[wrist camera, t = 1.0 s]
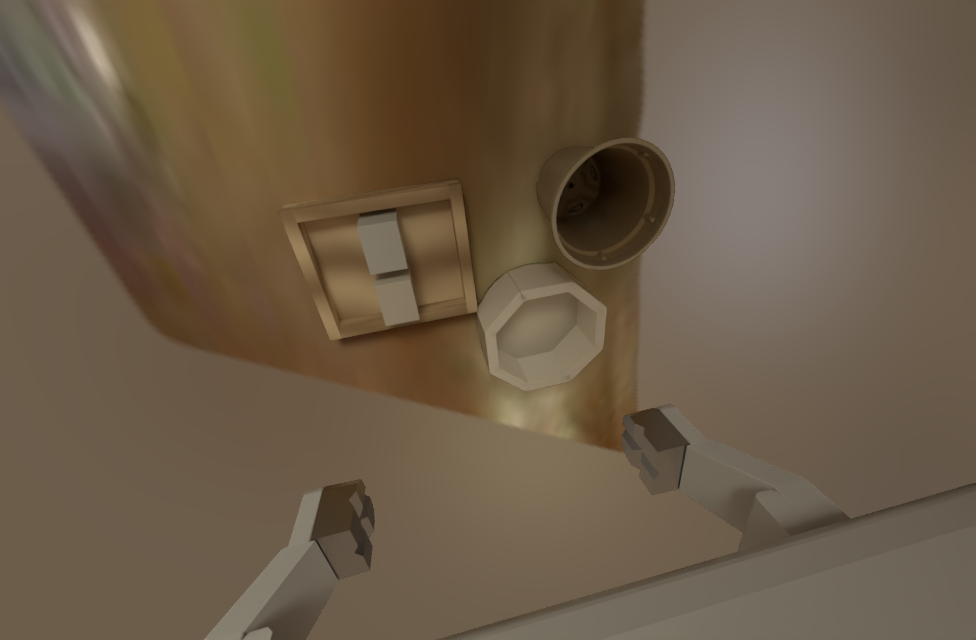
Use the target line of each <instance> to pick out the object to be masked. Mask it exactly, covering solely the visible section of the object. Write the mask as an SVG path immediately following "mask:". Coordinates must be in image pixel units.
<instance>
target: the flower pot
mask: <svg viewBox="0 0 976 640" xmlns="http://www.w3.org/2000/svg"><path fill="white" fill-rule="evenodd" d="M591 166H592V167H593V168H594V170H595V173H596V179H595V180H594V179H592V173H591V170H590V167H591ZM570 183H572V184H573V187H572V188H569V184H570ZM674 194H675V182H674V176H673V171H672V168H671V165H670V163H669V161H668V159H667V158H666V156H665V155H664V153H663V152H662V151H661V150H659V149H658V147H656V146H655V145H653V144H652V143H650V142H648V141H645V140H642V139H638V138H618V139H613V140H609V141H606V142H604V143H601V144H599V145H597V146H596V147H587V148H577V147H574V148H568V149H564V150H562V151H560V152H558V153H556V154H555V155H554V156H552V157H551V158H550V159H549V160H548V161H547V163H546V164H545V166H544V168H543V170H542V172H541V174H540V177H539V180H538V183H537V196H538V200H539V203H540V205H541V207H542V208H543V210H544V211H545V213H546V214H547V216H548V217H549V219H550V221H551V227H552V233H553V237H554V240H555V242H556V244H557V246H558V248H559V250H560V251H561V252H562V254H563V255H564V256H565V257H566V258H567V259H568V260H569V261H571V262H572V263H574V264H575V265H577V266H580V267H582V268H585V269H590V270H608V269H612V268H616V267H620V266H622V265H624V264H626V263H628V262H630V261H632V260H633V259H635V258H636V257H638V256H639V255H640V254H642V253H643V252H644V251H645V250H646V249H647V248H648V247H649V246H650V245H651V244H652V243H653V242H654V241H655V240H656V239H657V237H658V236H659V235H660V233H661V231H662V230H663V228H664V226H665V225H666V223H667V221H668V218H669V216H670V213H671V210H672V207H673V202H674ZM580 203H581V204H582V207H581V208H580V209H579V210H576V211H574V212H571V208H573V207H575V206H577V205H579V204H580Z"/></svg>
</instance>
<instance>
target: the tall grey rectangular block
mask: <svg viewBox="0 0 976 640" xmlns="http://www.w3.org/2000/svg"><path fill="white" fill-rule="evenodd" d="M356 228H357V231H358V235H359V238H360V241H361V245H362V248H363V251H364V255H365V258H366V261H367V265H368V268H369V271H370V275H374V274H380V273H385V272H391V271H397V270H402V269H408V265H407V253H406V248H405V244H404V240H403V235H402V231H401V227H400V222H399V218H398V214H397V210H396V209H390V210H383V211H377V212H371V213H364V214H360V216H359V219H358V223H357V226H356Z"/></svg>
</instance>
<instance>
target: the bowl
mask: <svg viewBox="0 0 976 640" xmlns="http://www.w3.org/2000/svg"><path fill="white" fill-rule="evenodd" d="M477 308H478V312H476V313H477V326H478V331H479V335H480V343H481V348H482V351H483V354H484V357H485V360H486V363H487V366H488V369H489V372H490V374H492V375H494V376H496V377H498V378H500V379H501V380H503V381H505V382H507V383H509V384H511V385H513V386H515V387H517V388H519V389H521V390H523V391H526V392H527V391H531V390H536V389H540V388H544V387H549V386H553V385H557V384H562V383H566V382H569V380H570V381H571V380H572V379H573V378H574V377H575V376H576V375H577V374H578V373H579V372H580V371H581V370H582V369H583V368H584V367H585V366H586V365H587V364H588V363H589V362H590V361H591V360H592V359H593V358H594V357H595V356H596V355H597V354H598V353H599V352H600V351H601V350H602V348H603V346H604V335H605V324H606V312H607V308H606V306H605V305H604V304H603V303H602V302H601V301H600V300H599V299H598V298H597V297H596V296H595V295H594V294H593V293H592V292H591V291H590V290H589V289H588V288H587V287H586V286H585V285H583V284H582V283H581V282H580V281H578V280H577V279H576V278H575V277H573V276H572V275H571V274H570V273H569V272H568V271H566V270H565V269H563V268H562V267H561V266H559V265H558V264H557V263H550V264H548V263H531V264H526V265H522V266H519V267H516V268H514V269H512V270H510V271H508V272H506V273H505V274H503V275H502V276H500V277H499V278H498V279H497V280H496V281H495V282H494V283H493V284H492V285H491V286H490V287H489V288H488V290H487V291H486V292H485V294H484V296H483V298H482V300H481V302H480V305H479V306H478V307H477Z"/></svg>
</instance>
